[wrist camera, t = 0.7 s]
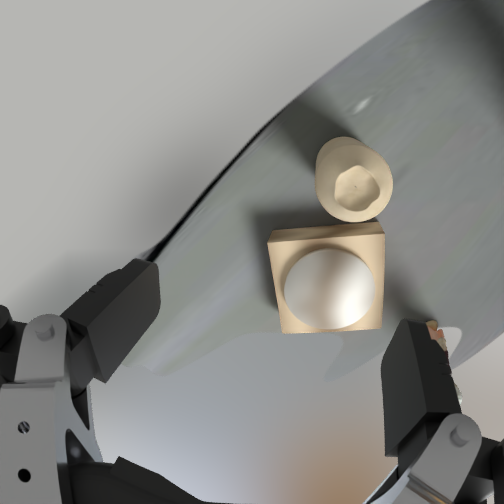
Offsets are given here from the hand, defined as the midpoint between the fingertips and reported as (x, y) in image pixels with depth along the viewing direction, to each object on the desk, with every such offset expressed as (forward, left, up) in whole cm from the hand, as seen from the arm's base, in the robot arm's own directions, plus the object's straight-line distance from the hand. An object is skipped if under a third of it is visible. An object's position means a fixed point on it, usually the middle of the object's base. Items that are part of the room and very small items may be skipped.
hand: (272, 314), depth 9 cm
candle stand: (-1, +11, -22) cm, 24 cm away
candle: (-4, -1, -22) cm, 22 cm away
